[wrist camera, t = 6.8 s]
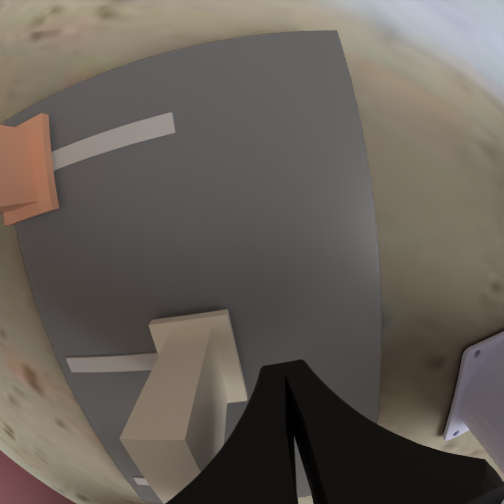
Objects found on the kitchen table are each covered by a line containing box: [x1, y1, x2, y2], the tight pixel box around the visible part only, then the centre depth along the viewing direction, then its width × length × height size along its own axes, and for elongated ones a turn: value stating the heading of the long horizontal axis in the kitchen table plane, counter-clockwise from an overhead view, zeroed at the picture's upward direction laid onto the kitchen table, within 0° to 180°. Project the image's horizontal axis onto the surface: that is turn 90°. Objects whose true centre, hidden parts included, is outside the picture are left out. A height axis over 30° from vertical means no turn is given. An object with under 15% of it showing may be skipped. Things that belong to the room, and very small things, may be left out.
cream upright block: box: [119, 309, 247, 504], centre depth 9 cm, size 3×4×6 cm
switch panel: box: [5, 30, 382, 504], centre depth 13 cm, size 15×24×2 cm, turn 10°
